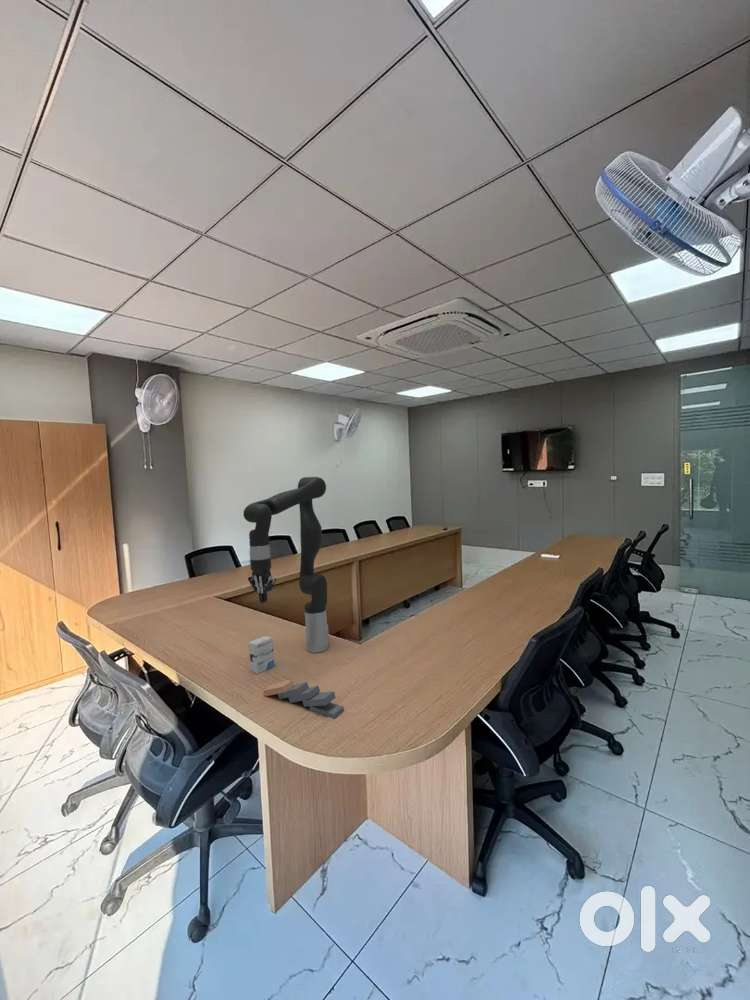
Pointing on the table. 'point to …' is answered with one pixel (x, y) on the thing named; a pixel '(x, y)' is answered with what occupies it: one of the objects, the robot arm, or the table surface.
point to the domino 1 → (279, 688)
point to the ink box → (261, 654)
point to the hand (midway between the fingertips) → (263, 602)
